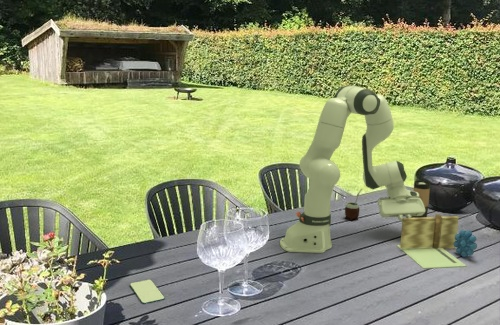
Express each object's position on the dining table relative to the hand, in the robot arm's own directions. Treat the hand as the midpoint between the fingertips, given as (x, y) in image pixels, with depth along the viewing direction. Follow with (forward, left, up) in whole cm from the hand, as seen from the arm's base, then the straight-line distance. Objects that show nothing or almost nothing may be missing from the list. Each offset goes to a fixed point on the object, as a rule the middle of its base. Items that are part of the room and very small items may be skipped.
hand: (406, 224), depth 224 cm
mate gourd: (-12, +34, -9) cm, 37 cm away
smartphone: (-110, -34, -9) cm, 116 cm away
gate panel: (+1, -8, -7) cm, 11 cm away
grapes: (+18, -18, -8) cm, 27 cm away
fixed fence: (+14, -8, -8) cm, 18 cm away
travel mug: (+20, +27, -8) cm, 34 cm away
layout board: (+4, -15, -8) cm, 18 cm away
